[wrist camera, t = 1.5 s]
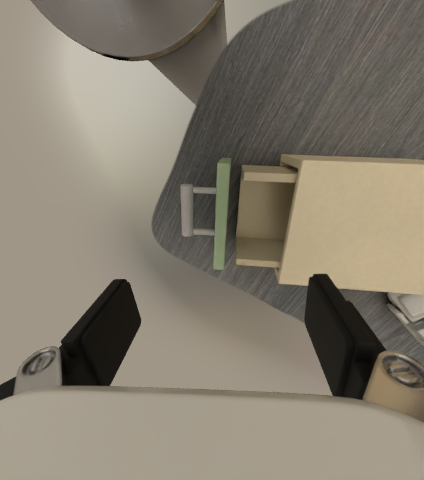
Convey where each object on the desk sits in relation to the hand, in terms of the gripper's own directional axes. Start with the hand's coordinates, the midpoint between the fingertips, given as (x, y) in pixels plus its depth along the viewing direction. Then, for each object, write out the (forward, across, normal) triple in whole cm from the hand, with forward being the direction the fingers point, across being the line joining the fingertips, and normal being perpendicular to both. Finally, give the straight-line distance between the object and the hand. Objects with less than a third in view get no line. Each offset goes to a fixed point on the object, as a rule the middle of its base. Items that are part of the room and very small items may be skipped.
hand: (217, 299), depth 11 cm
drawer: (+19, -4, +1) cm, 19 cm away
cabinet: (+20, -13, +2) cm, 24 cm away
